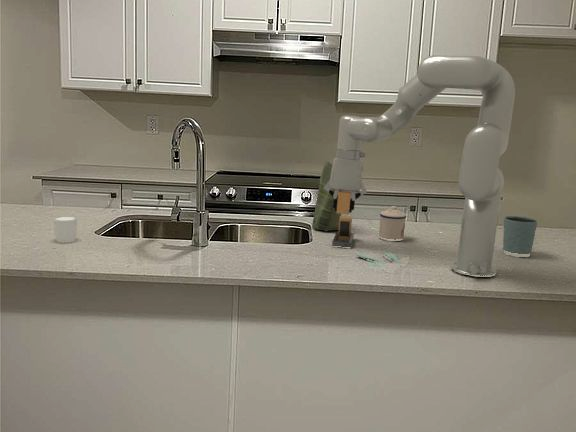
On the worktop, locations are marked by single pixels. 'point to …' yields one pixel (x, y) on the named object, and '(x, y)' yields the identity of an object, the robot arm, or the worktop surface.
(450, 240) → the worktop surface
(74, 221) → the white cylinder
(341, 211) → the tan wooden block
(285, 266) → the worktop surface
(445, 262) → the worktop surface
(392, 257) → the cloth
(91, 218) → the worktop surface
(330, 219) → the pouch
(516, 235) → the teal plant pot
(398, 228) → the teacup with lid
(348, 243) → the rail
